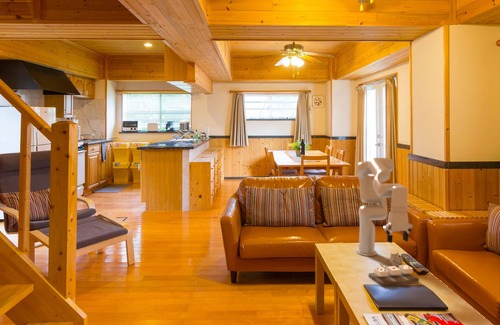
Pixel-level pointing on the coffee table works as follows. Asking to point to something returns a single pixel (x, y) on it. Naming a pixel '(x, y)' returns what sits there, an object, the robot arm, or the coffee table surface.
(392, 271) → the single pip block
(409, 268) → the two pip cube
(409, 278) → the brown board
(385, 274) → the three dot tile
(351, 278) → the coffee table surface
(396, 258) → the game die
